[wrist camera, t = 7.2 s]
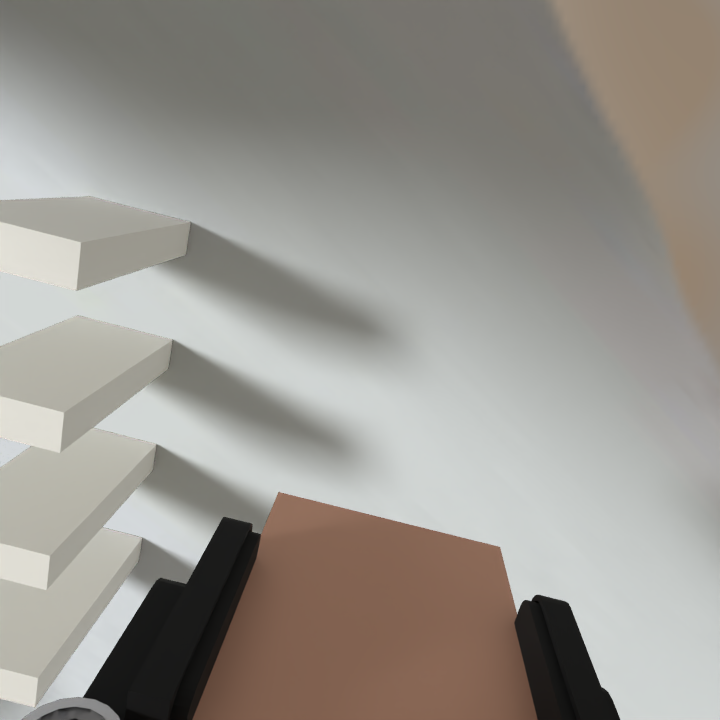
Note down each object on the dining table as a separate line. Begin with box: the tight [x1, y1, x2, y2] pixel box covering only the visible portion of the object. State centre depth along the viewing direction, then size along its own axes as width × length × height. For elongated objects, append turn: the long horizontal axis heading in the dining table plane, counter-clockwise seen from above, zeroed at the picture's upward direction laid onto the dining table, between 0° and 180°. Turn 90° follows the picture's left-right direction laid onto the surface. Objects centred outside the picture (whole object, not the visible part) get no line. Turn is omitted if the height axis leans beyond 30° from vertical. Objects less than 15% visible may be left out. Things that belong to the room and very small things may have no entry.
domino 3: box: [0, 428, 157, 590], centre depth 27 cm, size 2×5×10 cm, turn 77°
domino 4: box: [0, 527, 142, 708], centre depth 29 cm, size 2×5×10 cm, turn 76°
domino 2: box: [0, 315, 173, 453], centre depth 26 cm, size 2×5×10 cm, turn 77°
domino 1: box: [0, 196, 191, 291], centre depth 24 cm, size 2×5×10 cm, turn 76°
